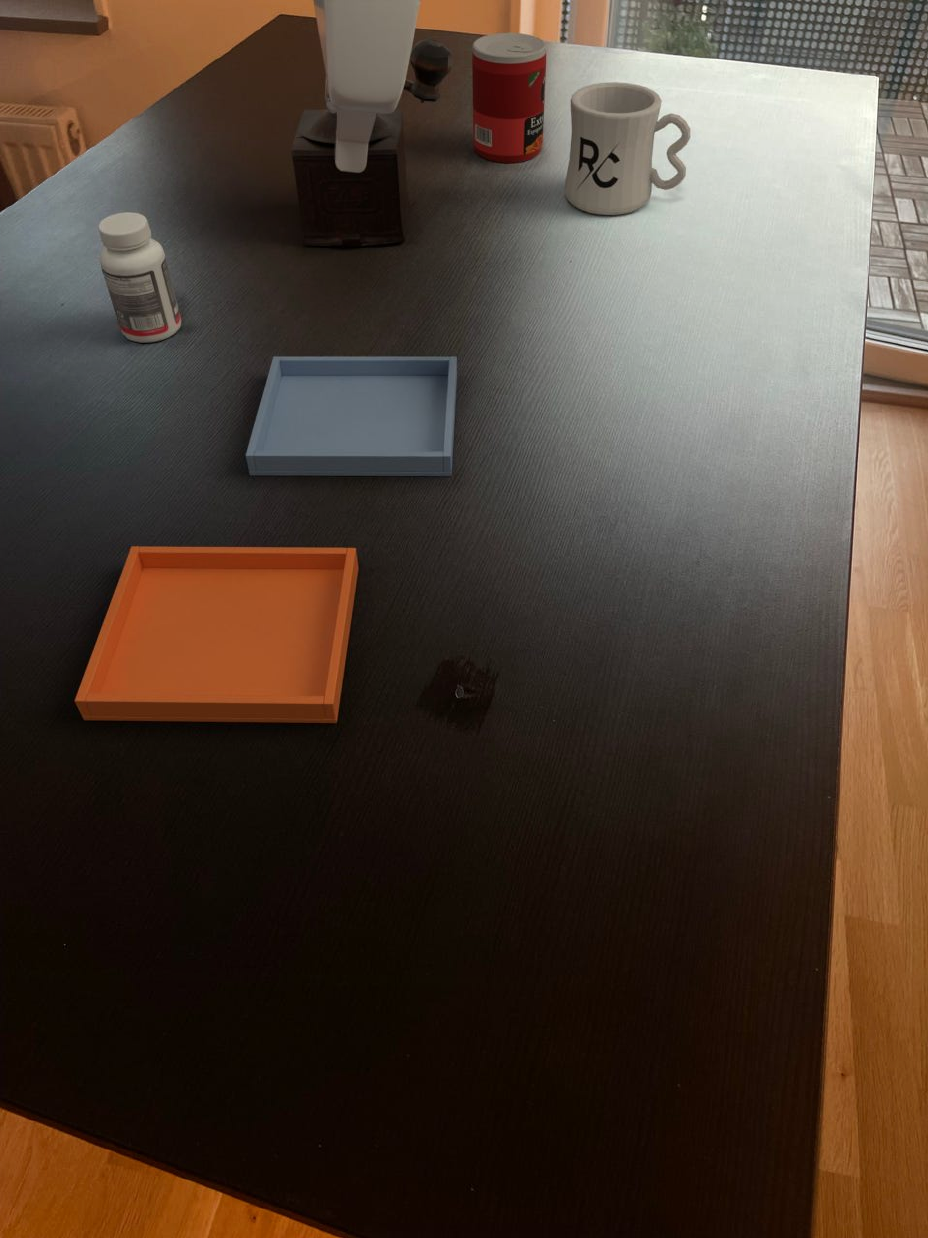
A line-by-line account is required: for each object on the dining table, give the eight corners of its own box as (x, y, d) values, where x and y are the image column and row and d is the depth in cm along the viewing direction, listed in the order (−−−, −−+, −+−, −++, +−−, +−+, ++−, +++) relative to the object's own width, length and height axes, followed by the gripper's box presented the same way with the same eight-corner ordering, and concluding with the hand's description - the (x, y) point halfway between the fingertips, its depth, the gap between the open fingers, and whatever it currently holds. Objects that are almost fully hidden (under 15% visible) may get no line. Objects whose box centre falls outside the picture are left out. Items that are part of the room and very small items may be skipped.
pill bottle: (145, 307, 92) (116, 203, 84) (194, 319, 90) (169, 214, 83) (109, 337, 88) (75, 231, 81) (159, 350, 87) (129, 242, 80)
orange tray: (83, 720, 60) (74, 701, 58) (138, 566, 68) (131, 545, 67) (336, 723, 59) (333, 703, 58) (358, 567, 68) (356, 547, 67)
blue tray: (249, 475, 75) (245, 455, 74) (276, 375, 84) (273, 355, 82) (451, 476, 74) (450, 456, 73) (457, 375, 83) (456, 356, 82)
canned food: (539, 165, 111) (543, 57, 103) (468, 162, 112) (466, 54, 104) (546, 137, 116) (550, 33, 108) (478, 134, 117) (477, 30, 109)
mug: (554, 211, 103) (559, 110, 96) (575, 175, 109) (582, 76, 102) (672, 227, 100) (687, 124, 93) (688, 189, 106) (703, 89, 99)
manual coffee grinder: (300, 250, 99) (271, 51, 85) (312, 200, 106) (287, 9, 93) (456, 248, 98) (452, 48, 85) (457, 198, 106) (453, 7, 93)
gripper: (297, -178, 59) (287, 74, 69) (314, -106, 45) (298, 199, 55) (402, -159, 60) (378, 86, 70) (450, -82, 46) (412, 211, 56)
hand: (343, 137), depth 62 cm, fingers open, 8 cm apart
